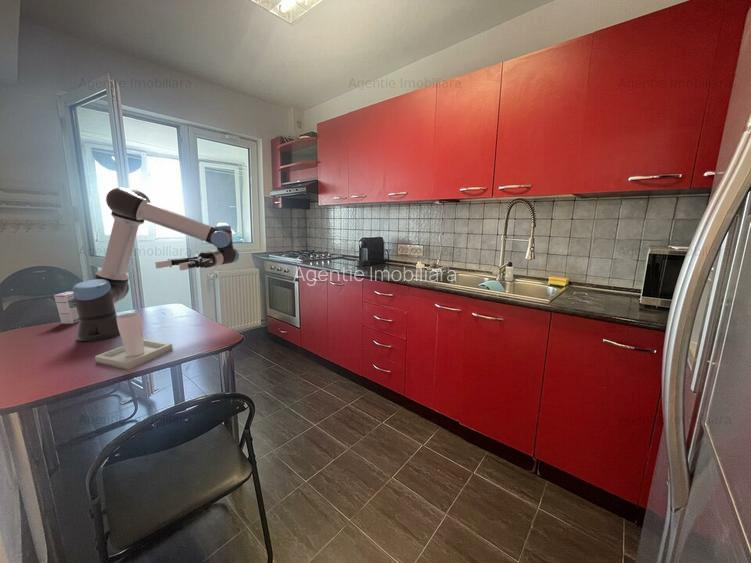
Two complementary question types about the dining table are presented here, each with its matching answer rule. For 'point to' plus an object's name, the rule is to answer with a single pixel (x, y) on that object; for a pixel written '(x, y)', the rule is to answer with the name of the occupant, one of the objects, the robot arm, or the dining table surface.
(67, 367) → the dining table surface
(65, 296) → the syrup box
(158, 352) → the tray
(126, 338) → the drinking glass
